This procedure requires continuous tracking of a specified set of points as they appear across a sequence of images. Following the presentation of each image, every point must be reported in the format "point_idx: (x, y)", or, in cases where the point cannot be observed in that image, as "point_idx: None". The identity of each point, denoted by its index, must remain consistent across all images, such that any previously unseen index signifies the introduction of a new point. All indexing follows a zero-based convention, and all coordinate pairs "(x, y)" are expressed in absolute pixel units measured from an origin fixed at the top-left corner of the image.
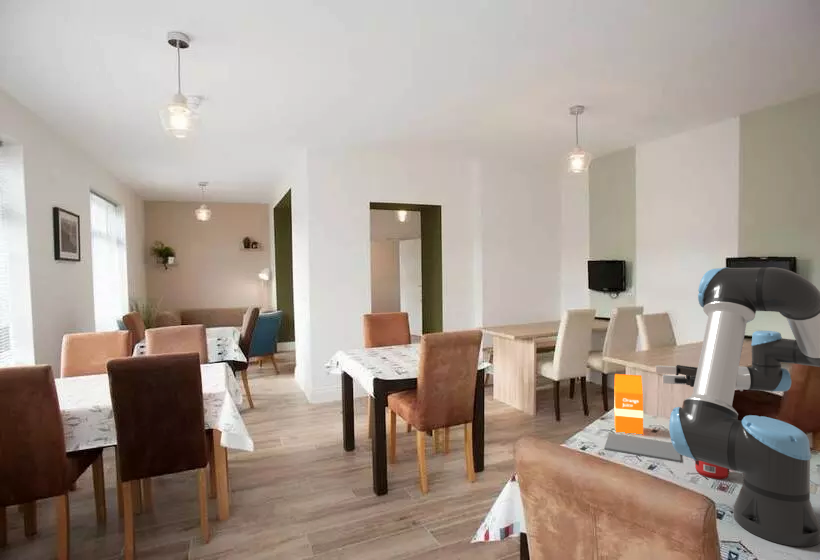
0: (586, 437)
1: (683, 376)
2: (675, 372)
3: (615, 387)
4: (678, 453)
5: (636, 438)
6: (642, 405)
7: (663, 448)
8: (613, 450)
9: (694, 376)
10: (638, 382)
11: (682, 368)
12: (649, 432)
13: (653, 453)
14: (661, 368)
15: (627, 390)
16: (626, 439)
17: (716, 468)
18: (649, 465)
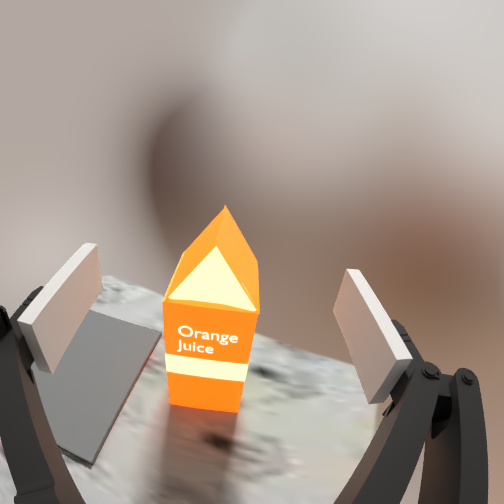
0: (143, 299)
1: (24, 313)
2: (373, 389)
3: (193, 242)
4: None
5: (127, 374)
6: (164, 337)
7: (59, 406)
8: None
9: (3, 388)
10: (196, 262)
11: (400, 407)
12: (199, 425)
13: (36, 371)
14: (351, 301)
15: (180, 265)
16: (120, 352)
17: None
18: None
